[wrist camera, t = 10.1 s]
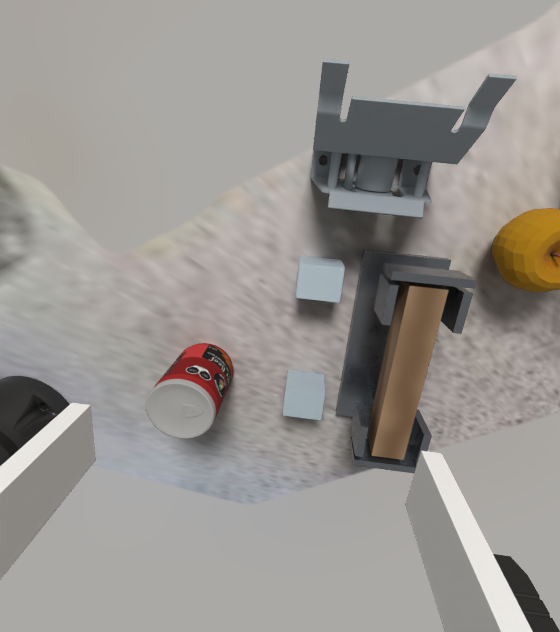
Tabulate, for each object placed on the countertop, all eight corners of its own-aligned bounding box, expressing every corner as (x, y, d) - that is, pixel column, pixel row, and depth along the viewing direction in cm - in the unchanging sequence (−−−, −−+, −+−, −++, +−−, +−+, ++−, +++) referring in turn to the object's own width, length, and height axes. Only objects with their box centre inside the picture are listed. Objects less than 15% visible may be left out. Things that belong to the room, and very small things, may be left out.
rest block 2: (285, 394, 50) (282, 415, 45) (288, 369, 49) (285, 388, 44) (320, 398, 50) (321, 420, 45) (323, 374, 48) (325, 393, 44)
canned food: (241, 383, 50) (223, 433, 40) (190, 394, 51) (159, 444, 41) (224, 335, 48) (200, 375, 37) (171, 347, 49) (134, 389, 39)
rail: (366, 435, 43) (371, 455, 40) (400, 277, 36) (409, 285, 33) (396, 438, 43) (403, 459, 39) (435, 281, 36) (448, 290, 33)
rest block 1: (297, 286, 45) (295, 297, 40) (300, 255, 43) (299, 263, 38) (336, 291, 44) (339, 302, 40) (341, 259, 43) (344, 268, 38)
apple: (459, 247, 41) (496, 261, 33) (520, 188, 39) (577, 187, 30) (507, 293, 43) (555, 317, 34) (569, 239, 40) (637, 251, 32)
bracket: (439, 119, 37) (517, 75, 23) (417, 214, 41) (474, 227, 26) (318, 108, 38) (323, 58, 24) (307, 203, 41) (305, 209, 27)
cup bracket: (336, 409, 50) (342, 465, 40) (363, 249, 42) (380, 267, 32) (406, 418, 50) (430, 476, 39) (447, 258, 42) (490, 279, 32)
